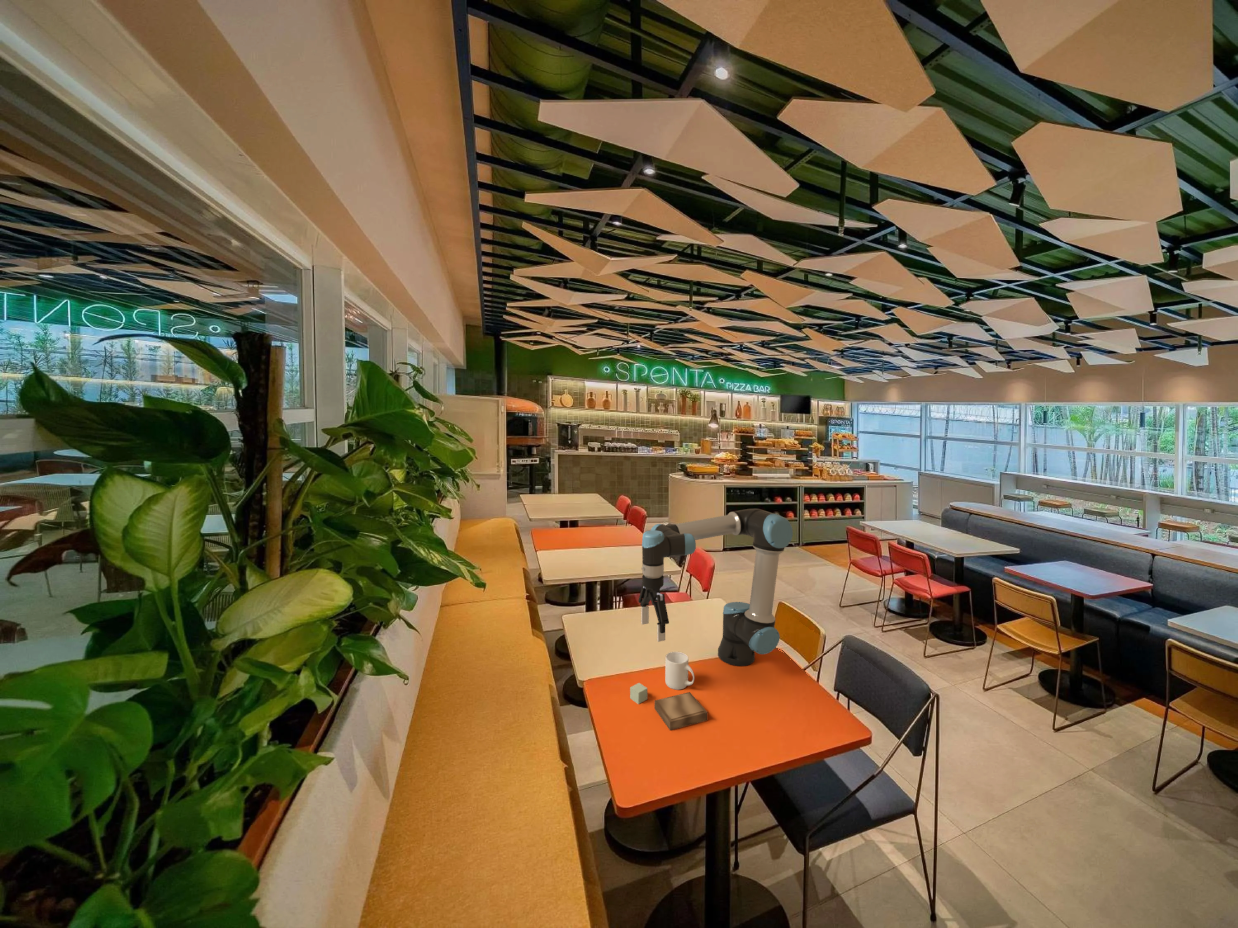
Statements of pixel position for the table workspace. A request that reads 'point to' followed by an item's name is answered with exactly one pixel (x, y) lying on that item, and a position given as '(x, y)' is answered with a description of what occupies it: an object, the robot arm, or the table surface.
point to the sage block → (638, 693)
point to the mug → (677, 670)
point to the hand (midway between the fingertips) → (652, 631)
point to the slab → (680, 710)
